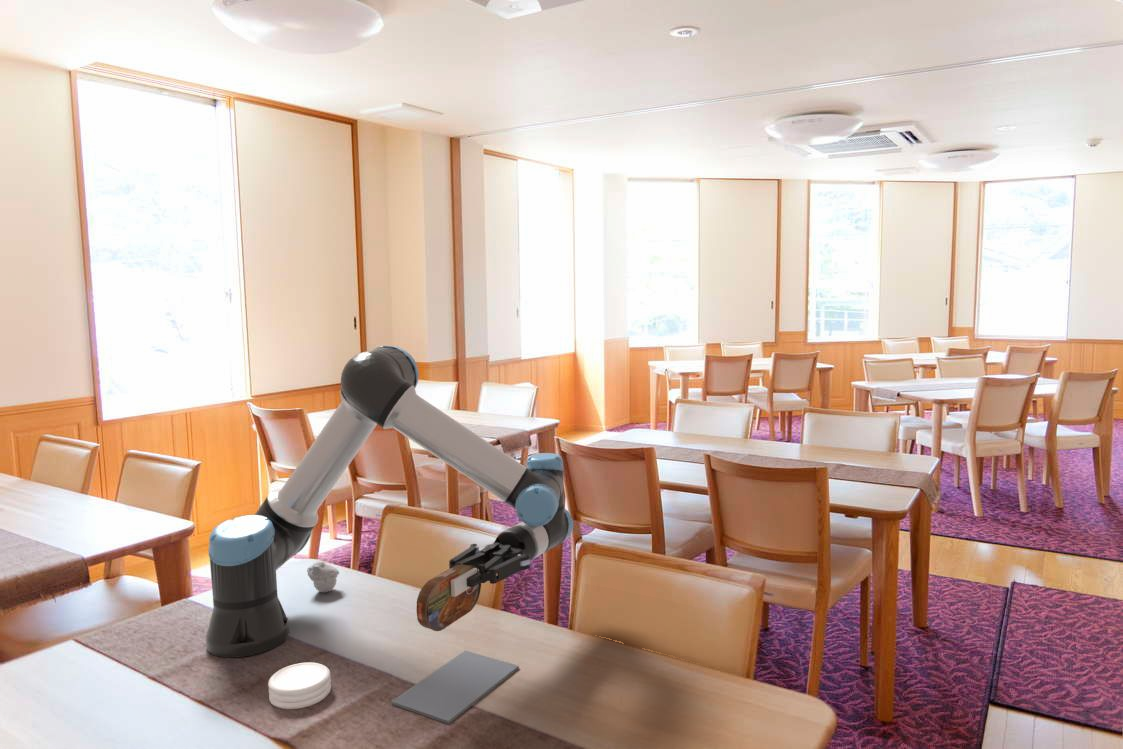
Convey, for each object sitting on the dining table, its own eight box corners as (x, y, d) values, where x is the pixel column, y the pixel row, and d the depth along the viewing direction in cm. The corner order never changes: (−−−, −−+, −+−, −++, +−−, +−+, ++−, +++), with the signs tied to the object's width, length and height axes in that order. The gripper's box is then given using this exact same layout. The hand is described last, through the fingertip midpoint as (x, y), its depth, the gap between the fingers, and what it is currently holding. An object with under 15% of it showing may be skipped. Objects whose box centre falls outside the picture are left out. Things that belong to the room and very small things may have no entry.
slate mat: (391, 704, 128) (391, 701, 127) (465, 653, 145) (465, 650, 145) (448, 724, 122) (448, 721, 121) (518, 668, 139) (518, 665, 139)
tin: (427, 639, 124) (428, 590, 123) (412, 634, 126) (412, 585, 124) (482, 604, 137) (483, 559, 136) (468, 600, 139) (468, 555, 137)
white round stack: (342, 684, 135) (341, 665, 134) (307, 715, 125) (306, 694, 125) (294, 676, 138) (293, 657, 137) (256, 705, 128) (255, 685, 128)
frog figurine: (311, 587, 177) (309, 557, 176) (342, 585, 178) (340, 556, 177) (305, 597, 171) (303, 567, 170) (337, 596, 172) (336, 566, 171)
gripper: (556, 569, 146) (483, 617, 126) (488, 556, 154) (409, 599, 134) (555, 531, 145) (482, 573, 125) (486, 520, 153) (407, 557, 133)
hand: (444, 586), depth 130 cm, fingers closed on tin, 3 cm apart
